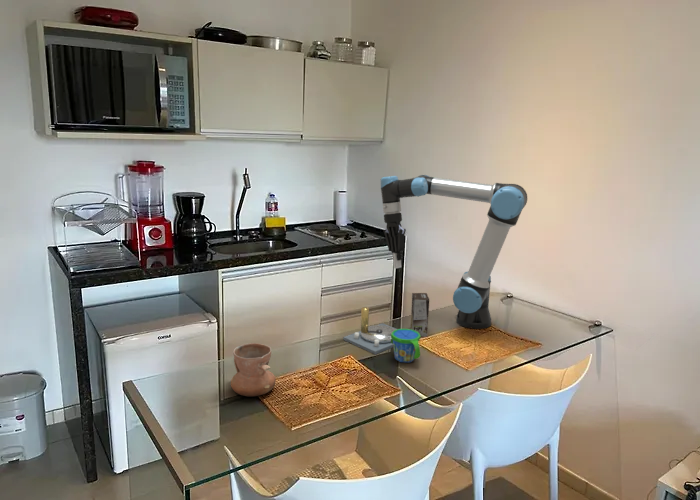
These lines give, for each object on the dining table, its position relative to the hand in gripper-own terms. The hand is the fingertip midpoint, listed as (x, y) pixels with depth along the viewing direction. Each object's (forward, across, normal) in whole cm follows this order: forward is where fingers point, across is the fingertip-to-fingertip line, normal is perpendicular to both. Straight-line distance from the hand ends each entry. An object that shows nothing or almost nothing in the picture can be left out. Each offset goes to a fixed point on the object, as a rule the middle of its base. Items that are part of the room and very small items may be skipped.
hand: (398, 267), depth 228 cm
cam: (+25, +6, -17) cm, 31 cm away
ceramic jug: (+28, +16, -77) cm, 84 cm away
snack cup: (+31, +25, -20) cm, 44 cm away
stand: (+26, +5, -17) cm, 32 cm away
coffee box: (+28, +8, +1) cm, 29 cm away
